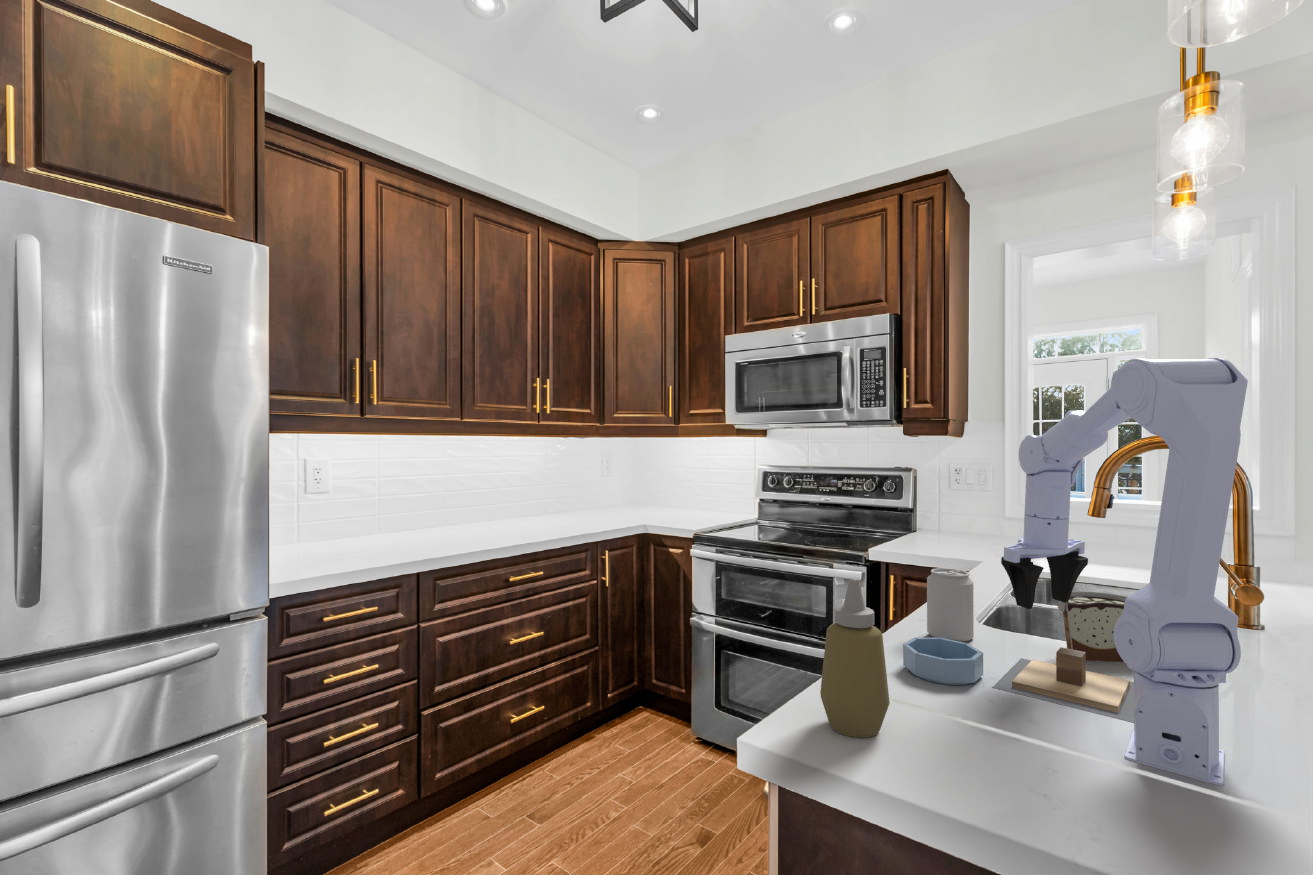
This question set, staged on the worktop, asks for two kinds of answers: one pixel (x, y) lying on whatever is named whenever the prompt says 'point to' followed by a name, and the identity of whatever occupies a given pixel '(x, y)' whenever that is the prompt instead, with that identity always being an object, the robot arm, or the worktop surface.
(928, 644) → the bowl
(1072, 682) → the lid
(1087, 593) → the food container
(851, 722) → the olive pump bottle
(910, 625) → the worktop surface
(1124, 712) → the mat
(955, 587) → the can
